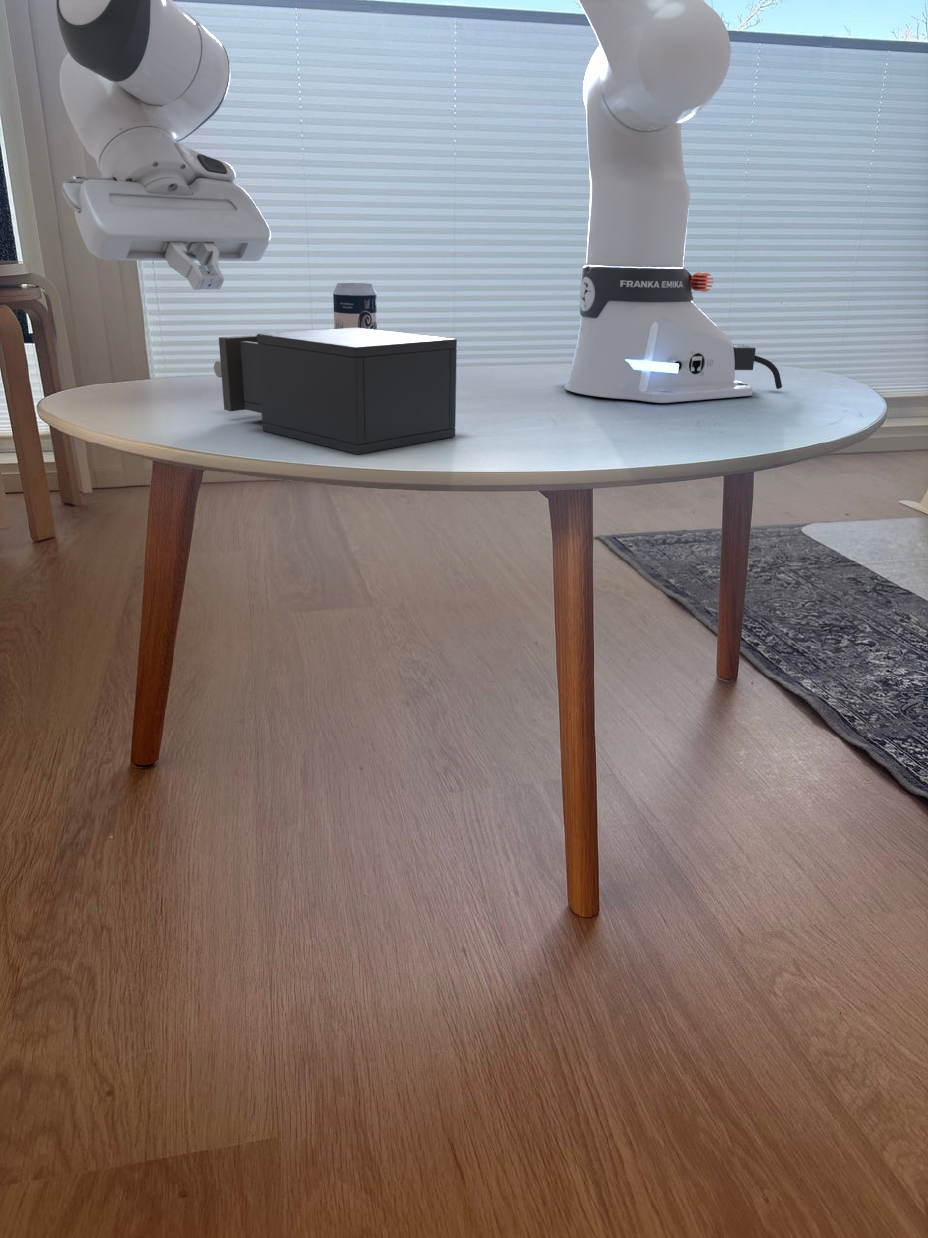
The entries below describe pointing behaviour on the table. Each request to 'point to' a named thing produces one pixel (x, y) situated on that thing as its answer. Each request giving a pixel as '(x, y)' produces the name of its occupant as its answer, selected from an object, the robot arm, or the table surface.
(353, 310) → the beer can
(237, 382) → the drawer
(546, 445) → the table surface
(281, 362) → the dark grey storage box
